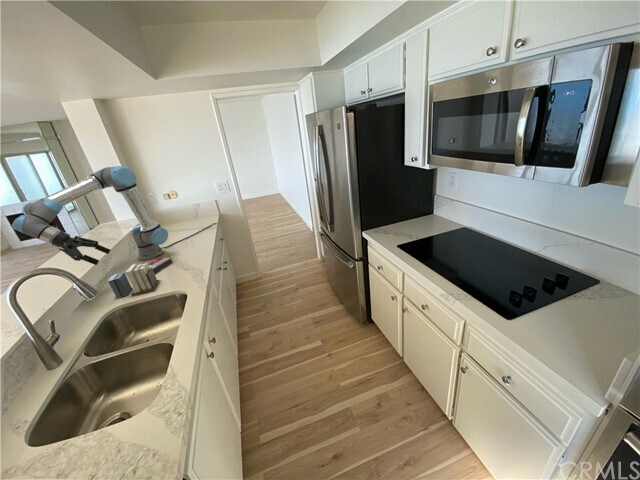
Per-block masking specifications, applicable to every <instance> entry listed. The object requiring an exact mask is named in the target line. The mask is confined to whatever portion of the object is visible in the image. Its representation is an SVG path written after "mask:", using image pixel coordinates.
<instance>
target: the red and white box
mask: <svg viewBox="0 0 640 480" xmlns="http://www.w3.org/2000/svg"><path fill="white" fill-rule="evenodd" d="M147 263H148V265H149V267H150V268H152V269H153V271H154V274H155V275H156V274H157V273H159V272H160V271H161V270H162V269H164V268H166V267H168V266H169V265H171V264H173V260H172V258H170V257H156V258H154V260H152V261H149V262H147Z"/></svg>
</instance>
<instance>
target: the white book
mask: <svg viewBox="0 0 640 480" xmlns="http://www.w3.org/2000/svg"><path fill="white" fill-rule="evenodd" d="M137 265H138V264H137V263H134V264H131V265H130V267H128V269H127V270H126V272H125V275H126V277H127V279H128V281H129V283H130V285H131V287H132V289H134V290H135V292H140V291H141V287H140V284H139V282H138V280H137V278H136V276H135V274H134V271H133V270H134V269H135V268H136V267H137ZM134 290H133V291H134Z"/></svg>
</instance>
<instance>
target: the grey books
mask: <svg viewBox="0 0 640 480" xmlns="http://www.w3.org/2000/svg"><path fill="white" fill-rule="evenodd" d="M107 282H108V284H109V286H110V288H111V290H112V291H113V293H114V296H115V297H116V299H119V298H123V297H127V296H129V295H130V293H131V292H132V290H133V286H132V284H131V282H130V280H129V278H128V276H127V274H126V272H119V273H115V274H112V276H111V277H110V278H109V279H108V280H107Z"/></svg>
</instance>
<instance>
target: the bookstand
mask: <svg viewBox="0 0 640 480" xmlns="http://www.w3.org/2000/svg"><path fill="white" fill-rule="evenodd" d="M148 263H149V262H146V263H145V262H144V263H143V264H142V263H140V264H137V267H136V268H135V269H134V270H133V271H134V274H135V276H136V278H137V280H138V282H139V284H140V287H141V291H140V292H135V290H133V291H132V292H131V296H132V297H135V296H138V295H139V296H140V295H143V294H148V293H152V292H155V290H156V288H157V286H158V285H159V283H160V279H157V276H156V274H154V271H153V269H152V268H150V267H149V265H148Z"/></svg>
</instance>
